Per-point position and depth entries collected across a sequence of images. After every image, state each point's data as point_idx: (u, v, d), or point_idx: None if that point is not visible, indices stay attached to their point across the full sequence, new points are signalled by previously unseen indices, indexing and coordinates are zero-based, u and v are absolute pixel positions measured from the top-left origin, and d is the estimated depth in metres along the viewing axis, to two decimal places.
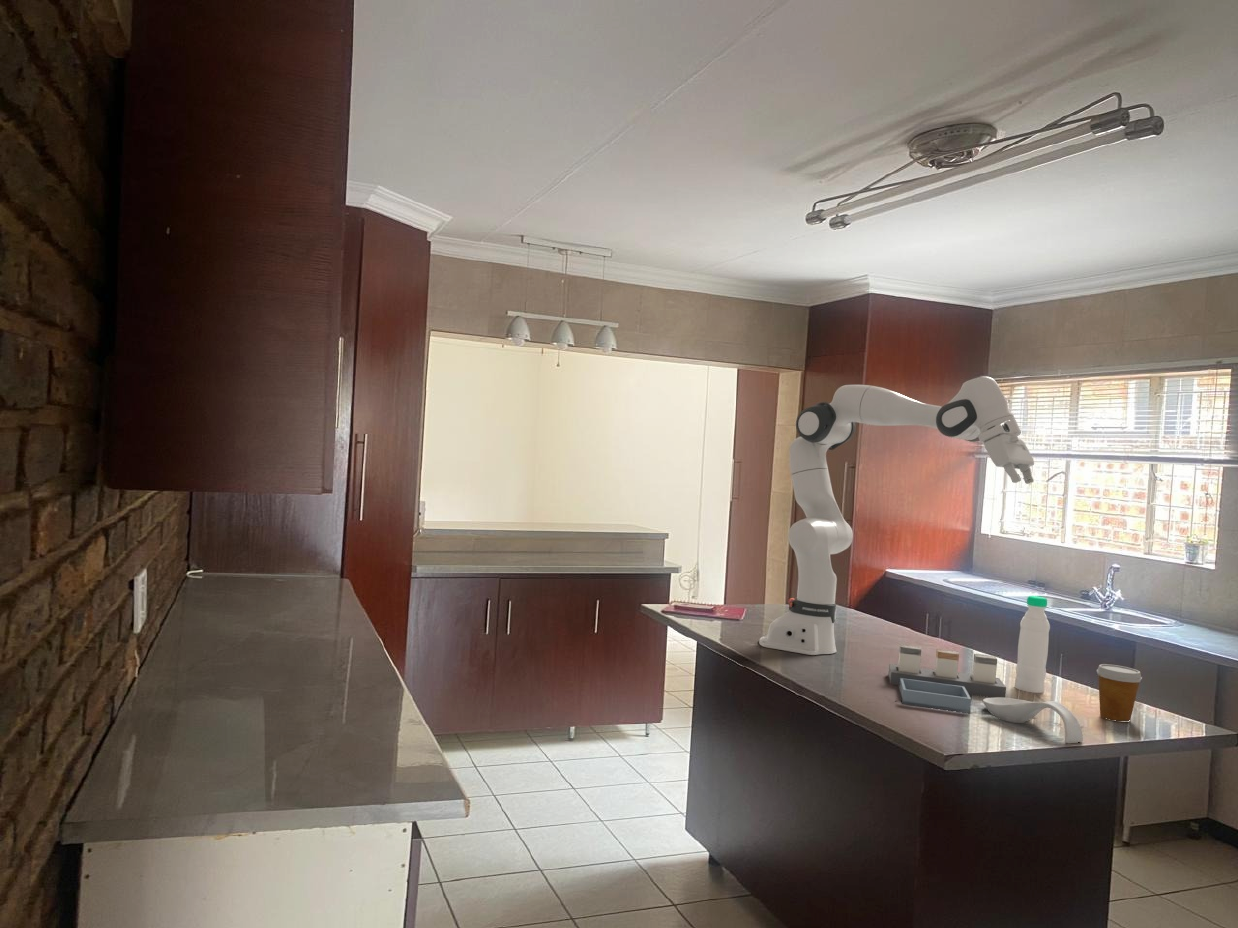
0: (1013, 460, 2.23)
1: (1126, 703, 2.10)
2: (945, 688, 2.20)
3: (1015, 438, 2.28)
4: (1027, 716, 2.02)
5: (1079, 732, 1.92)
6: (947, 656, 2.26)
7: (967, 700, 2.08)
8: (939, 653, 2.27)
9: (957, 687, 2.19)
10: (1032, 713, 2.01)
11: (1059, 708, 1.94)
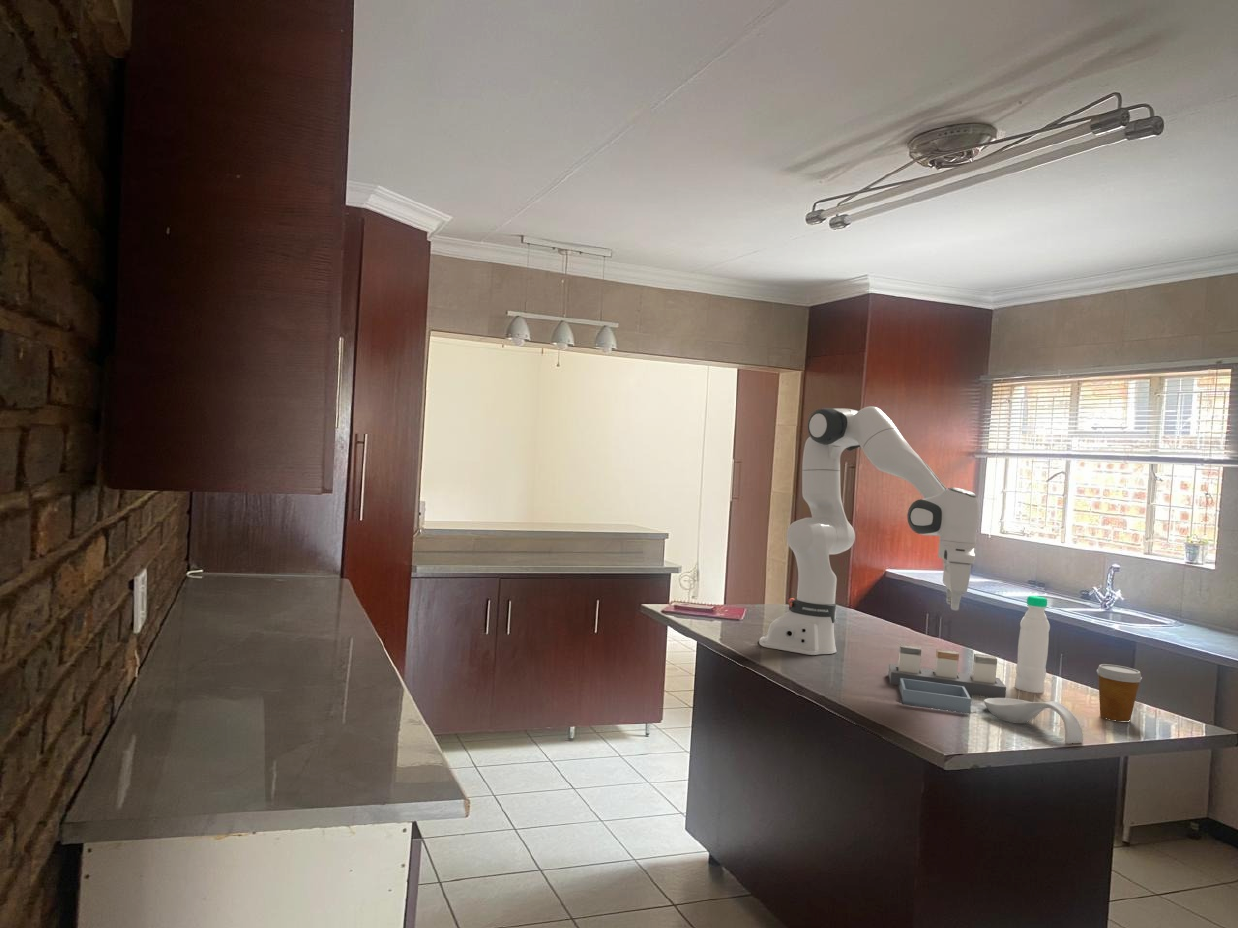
0: None
1: (1126, 703, 2.10)
2: (945, 688, 2.20)
3: None
4: (1027, 716, 2.01)
5: (1079, 732, 1.91)
6: (947, 656, 2.26)
7: (967, 700, 2.08)
8: (939, 653, 2.27)
9: (957, 687, 2.19)
10: (1033, 713, 2.00)
11: (1059, 708, 1.94)
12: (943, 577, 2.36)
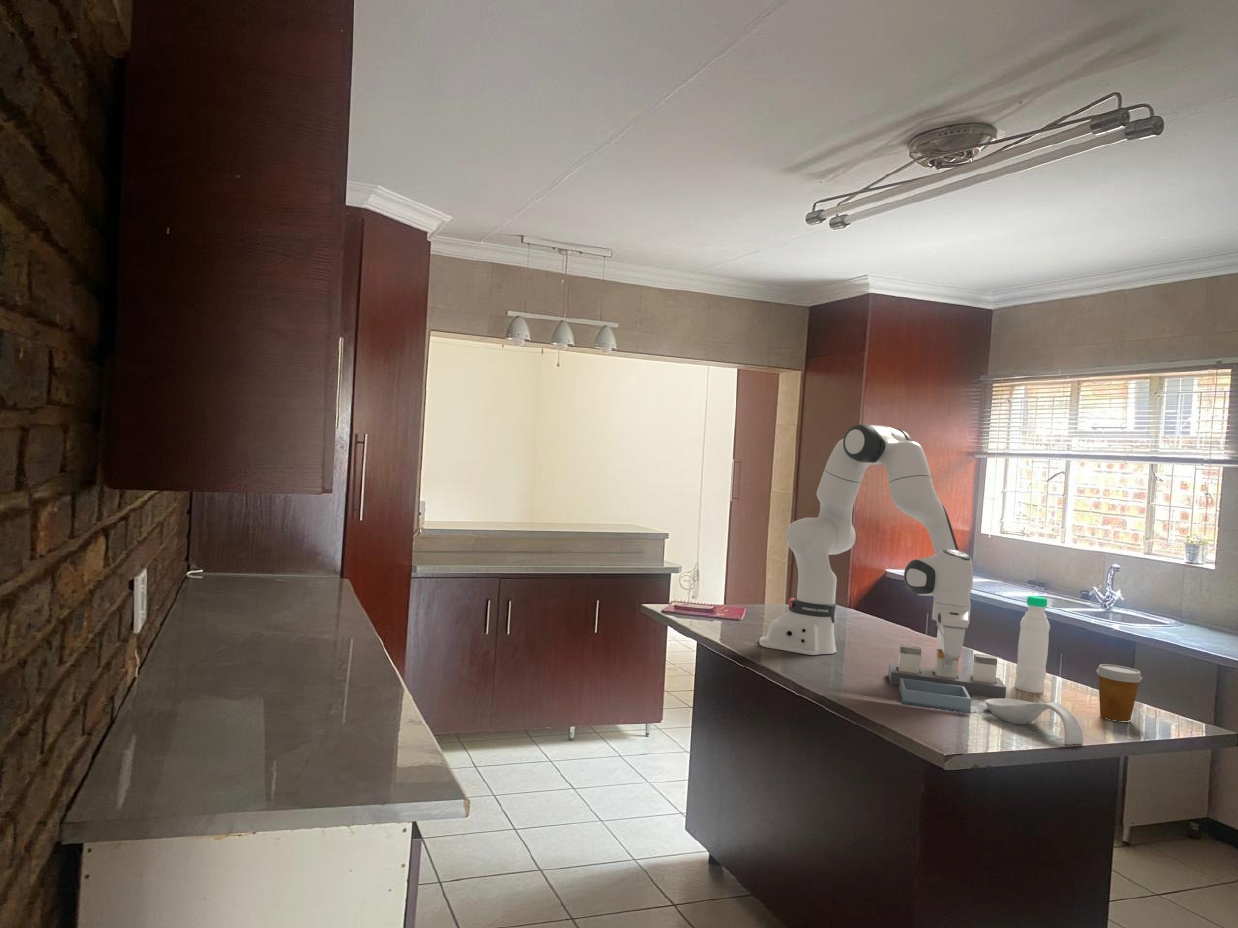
0: None
1: (1126, 703, 2.10)
2: (945, 688, 2.20)
3: None
4: (1028, 717, 2.01)
5: (1079, 733, 1.91)
6: None
7: (967, 700, 2.08)
8: (939, 653, 2.27)
9: (957, 687, 2.19)
10: (1034, 714, 2.00)
11: (1059, 709, 1.94)
12: (937, 637, 2.36)
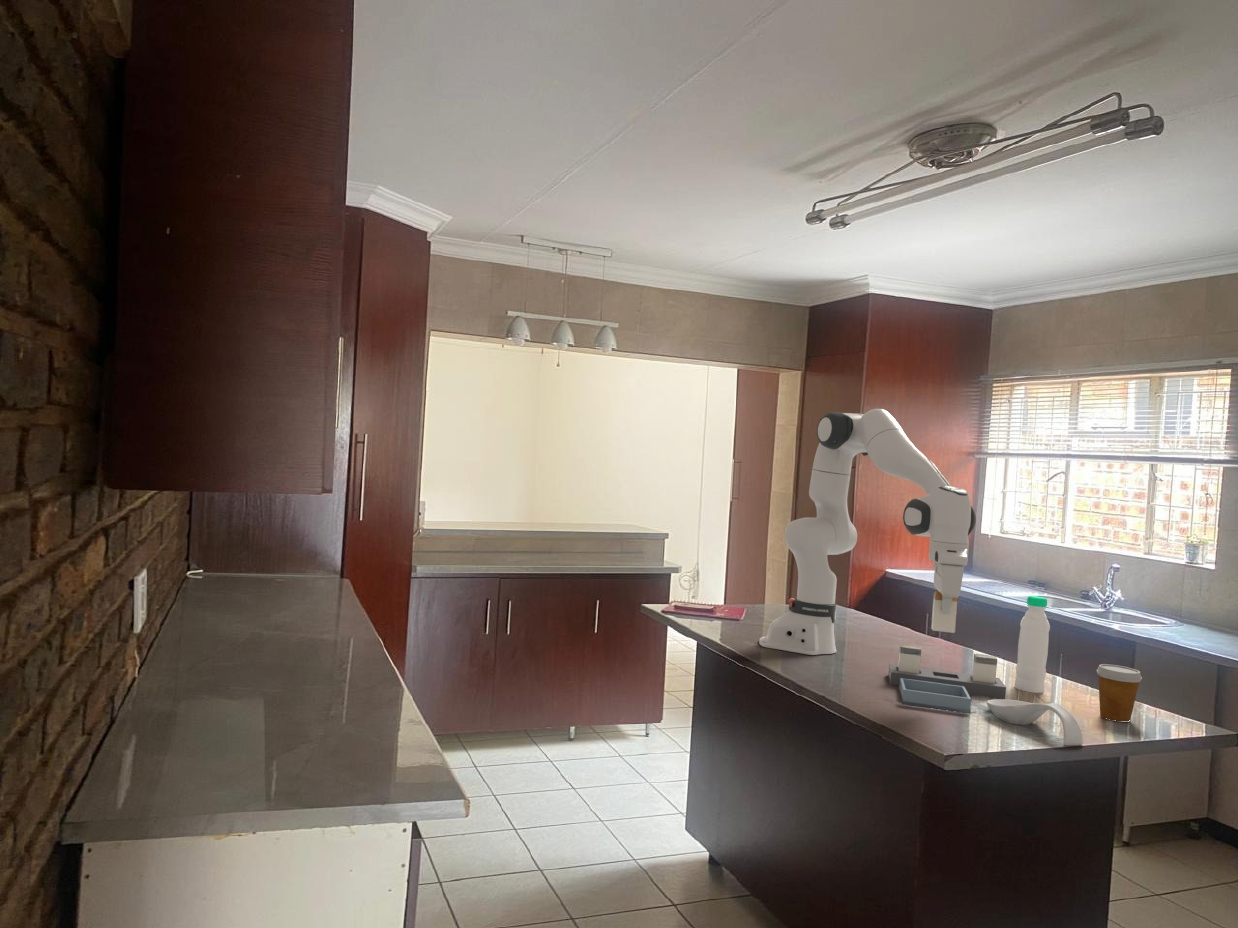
0: None
1: (1126, 703, 2.10)
2: (945, 688, 2.20)
3: None
4: (1029, 718, 2.00)
5: (1079, 734, 1.90)
6: None
7: (967, 700, 2.08)
8: (937, 594, 2.15)
9: (957, 687, 2.19)
10: (1034, 715, 1.99)
11: (1059, 710, 1.93)
12: (934, 580, 2.25)
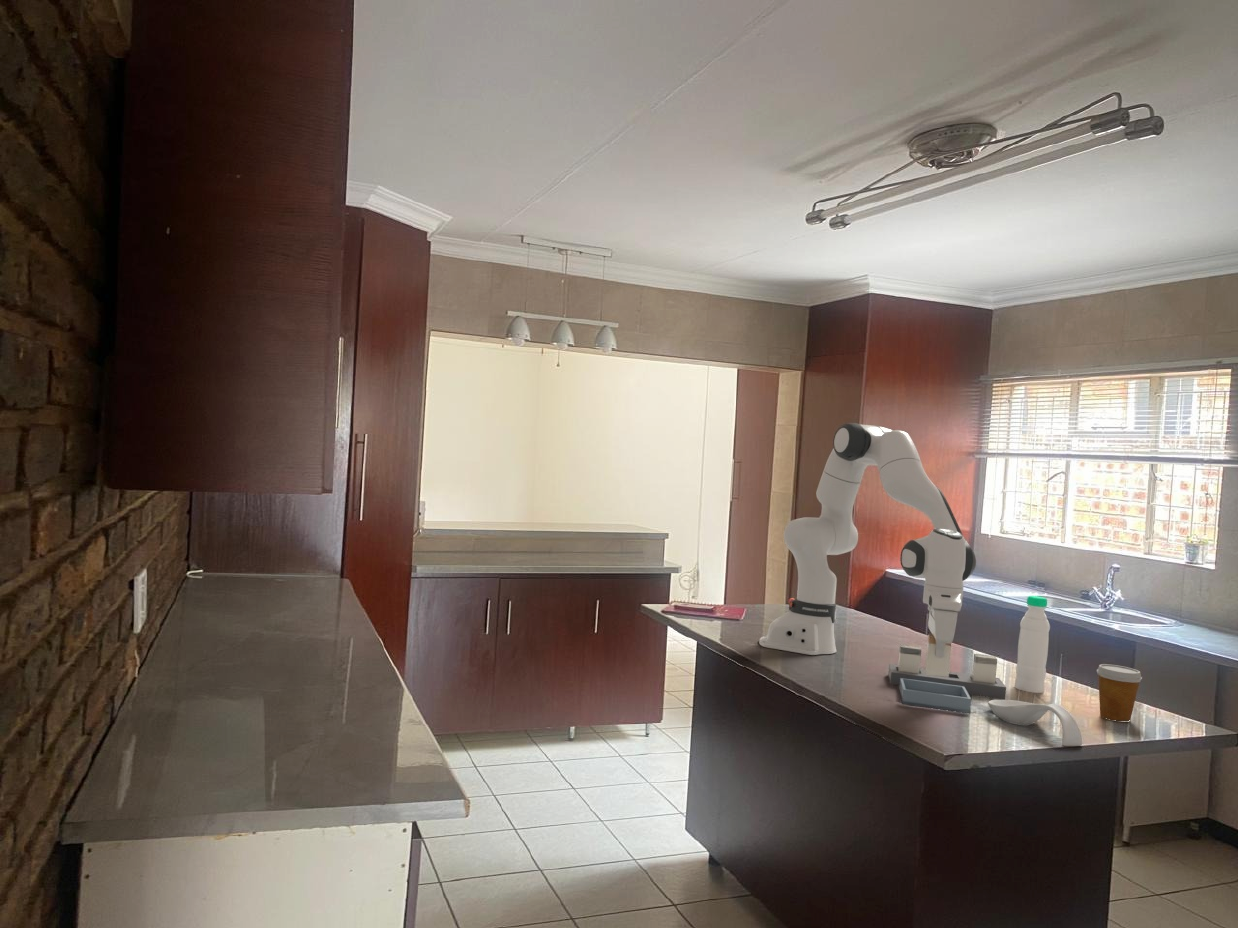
0: None
1: (1126, 703, 2.10)
2: (945, 688, 2.20)
3: None
4: (1030, 718, 2.00)
5: (1078, 735, 1.89)
6: None
7: (967, 700, 2.08)
8: (931, 638, 2.14)
9: (957, 687, 2.19)
10: (1035, 715, 1.99)
11: (1059, 710, 1.92)
12: (928, 622, 2.23)
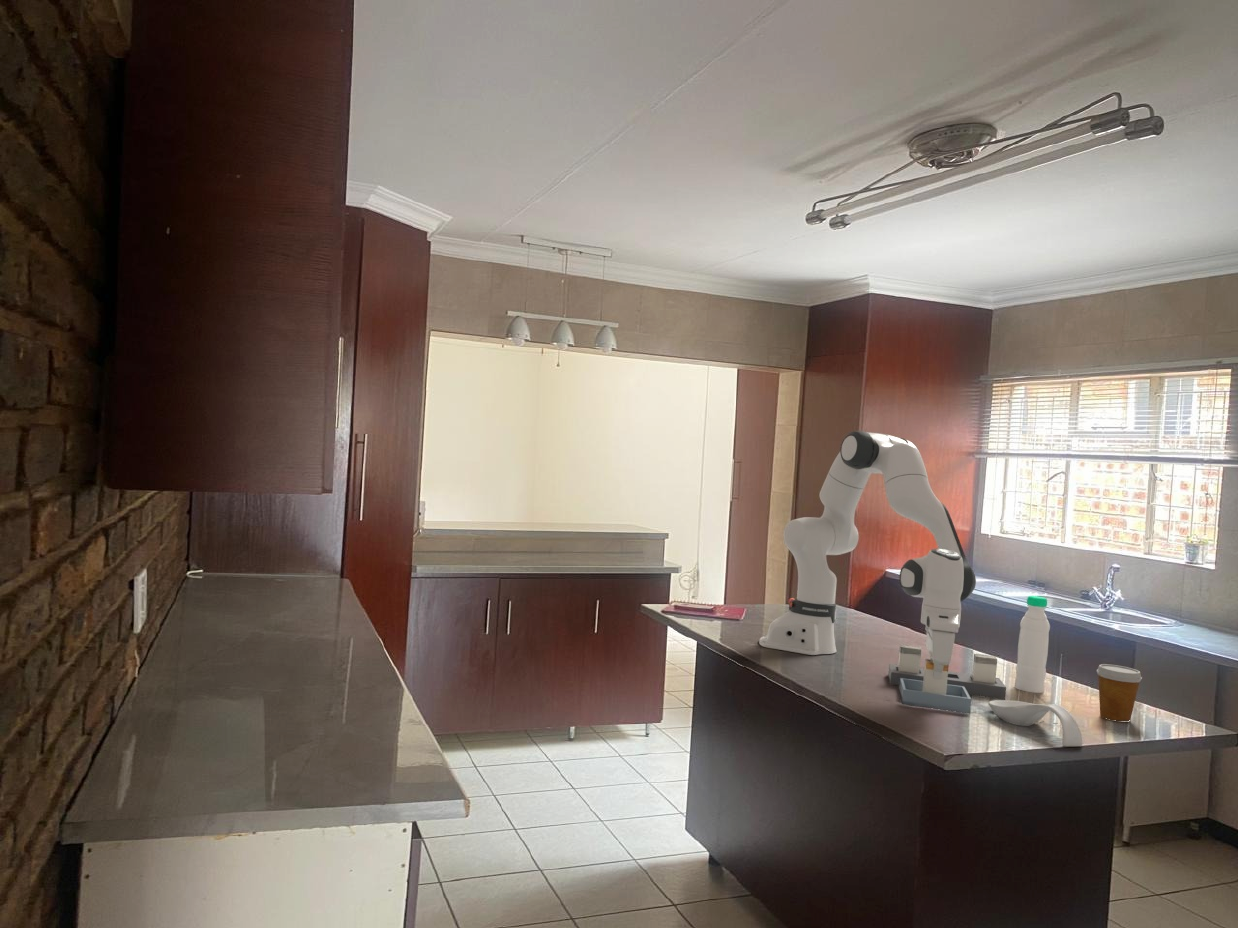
0: None
1: (1126, 703, 2.10)
2: None
3: None
4: (1030, 718, 2.00)
5: (1078, 736, 1.89)
6: None
7: (967, 700, 2.08)
8: (928, 663, 2.14)
9: (957, 687, 2.19)
10: (1035, 716, 1.99)
11: (1059, 711, 1.92)
12: (926, 641, 2.24)
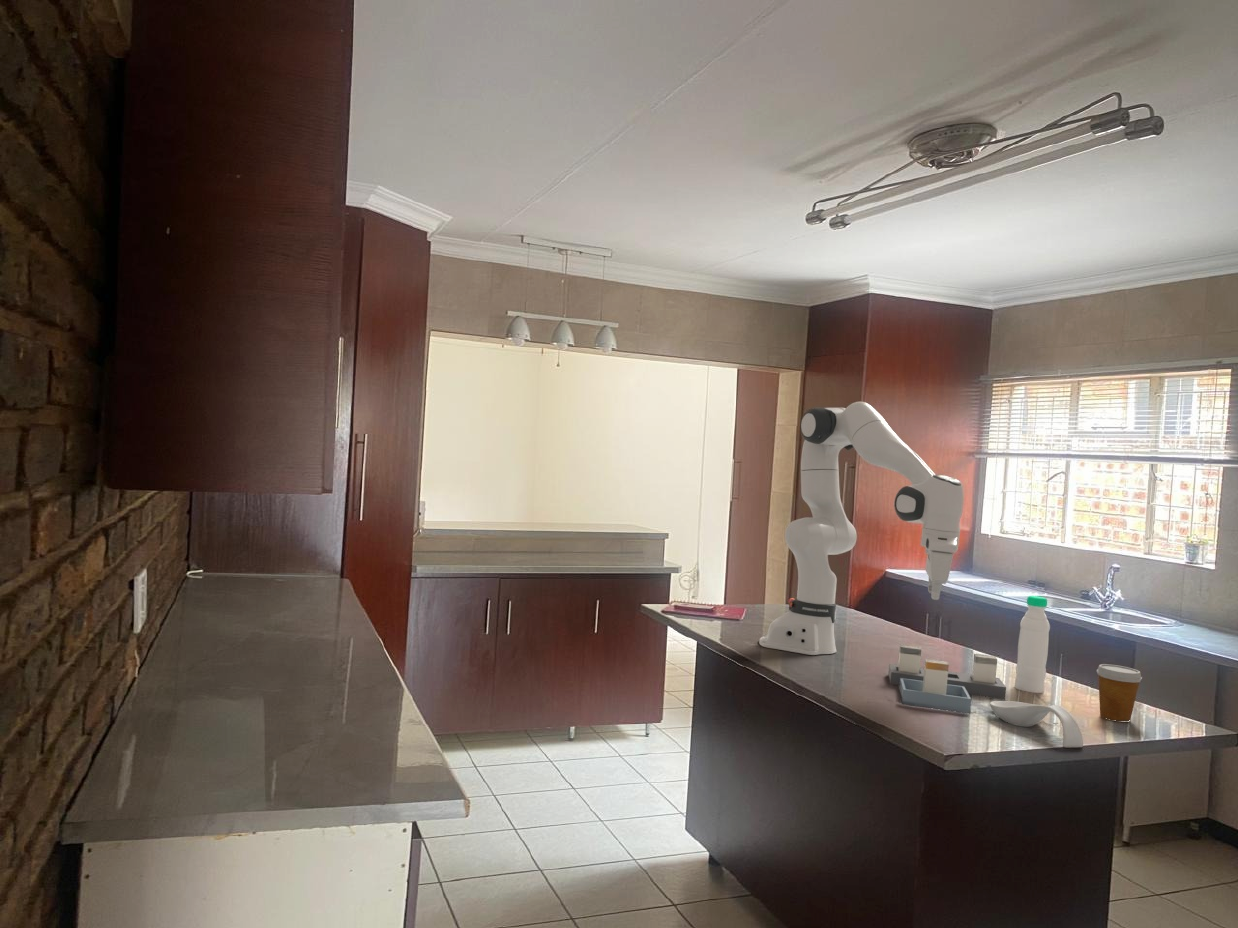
0: None
1: (1126, 703, 2.10)
2: None
3: None
4: (1031, 719, 1.99)
5: (1079, 736, 1.88)
6: (936, 666, 2.14)
7: (967, 700, 2.08)
8: (928, 663, 2.14)
9: (957, 687, 2.19)
10: (1036, 716, 1.98)
11: (1059, 712, 1.91)
12: (926, 565, 2.32)
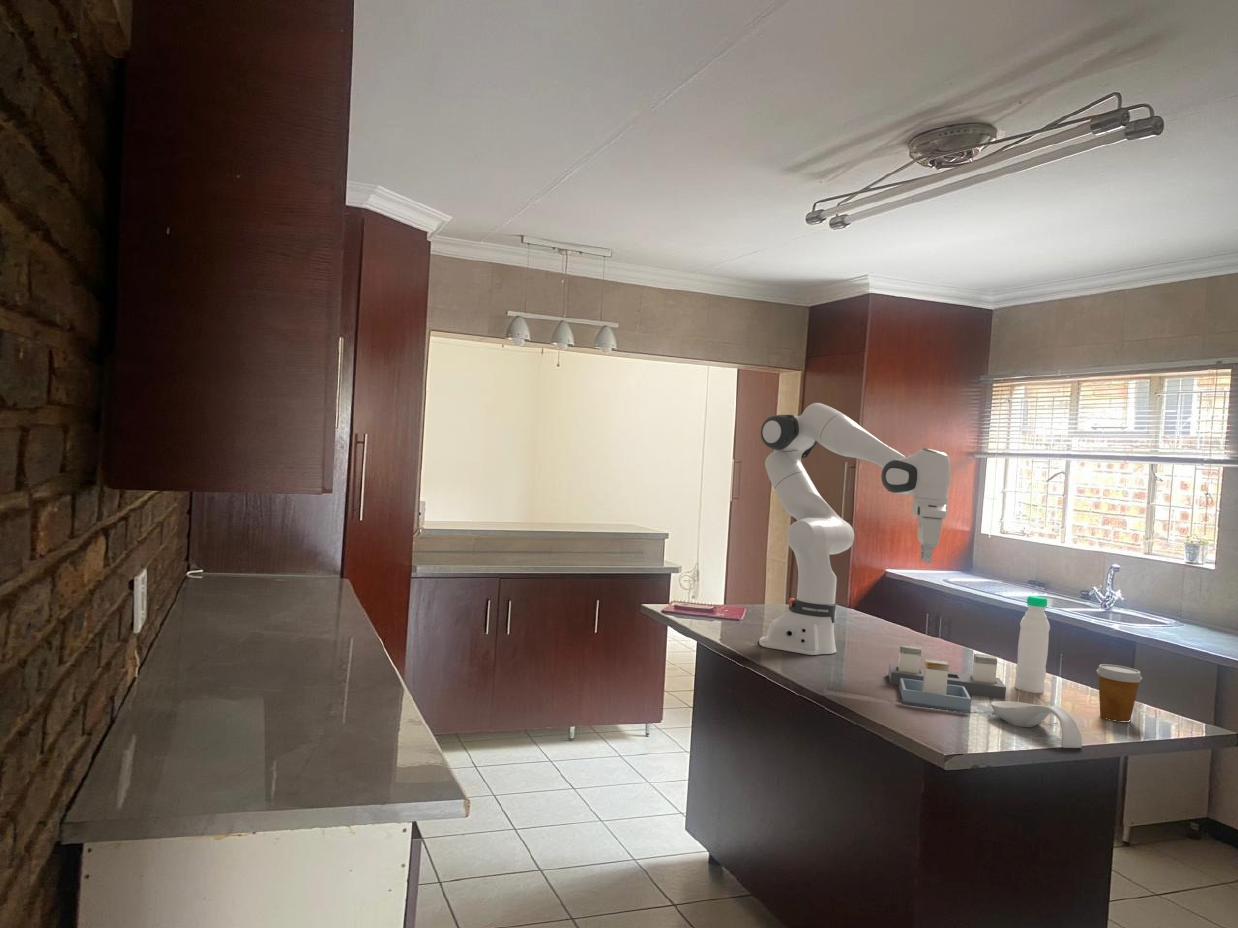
0: None
1: (1126, 703, 2.10)
2: None
3: None
4: (1031, 720, 1.99)
5: (1078, 737, 1.87)
6: (936, 666, 2.14)
7: (967, 700, 2.08)
8: (928, 663, 2.14)
9: (957, 687, 2.19)
10: (1037, 717, 1.98)
11: (1059, 712, 1.91)
12: None
